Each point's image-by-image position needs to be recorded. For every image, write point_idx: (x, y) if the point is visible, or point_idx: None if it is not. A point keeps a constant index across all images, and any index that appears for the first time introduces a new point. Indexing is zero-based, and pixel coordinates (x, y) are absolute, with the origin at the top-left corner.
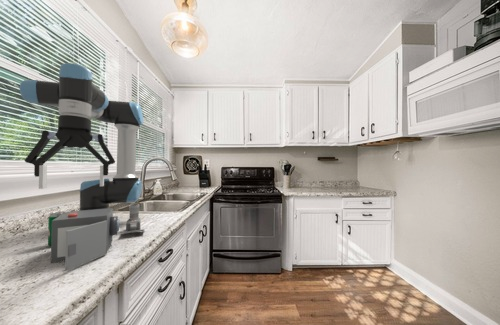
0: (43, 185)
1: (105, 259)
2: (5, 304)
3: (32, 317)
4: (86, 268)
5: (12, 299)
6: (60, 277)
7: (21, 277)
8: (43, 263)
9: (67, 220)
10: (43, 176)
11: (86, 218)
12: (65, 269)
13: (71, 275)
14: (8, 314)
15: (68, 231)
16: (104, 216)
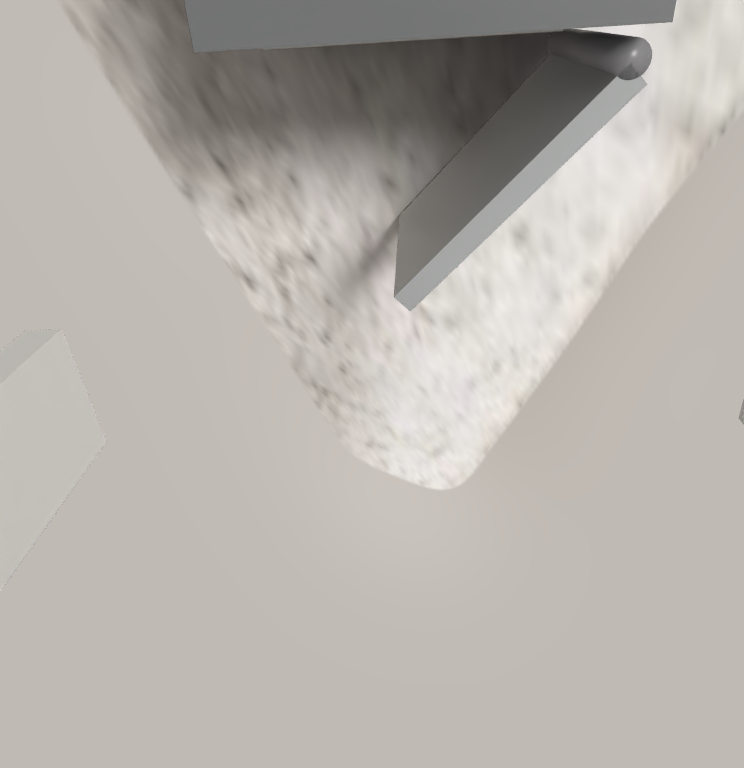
0: (78, 441)
1: None
2: (303, 382)
3: (411, 473)
4: None
5: (306, 361)
6: None
7: (228, 180)
8: None
9: (315, 42)
10: (9, 547)
11: (473, 34)
12: (400, 217)
13: None
14: (343, 436)
15: (411, 308)
16: (642, 23)
